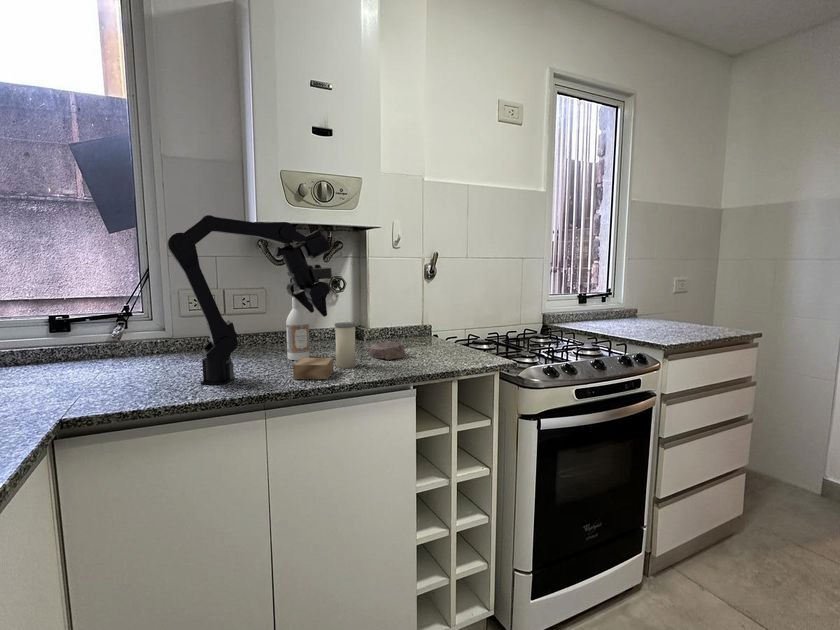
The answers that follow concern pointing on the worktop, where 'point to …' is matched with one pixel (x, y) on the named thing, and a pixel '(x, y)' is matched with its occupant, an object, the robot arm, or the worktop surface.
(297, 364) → the walnut box
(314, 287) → the robot arm
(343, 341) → the tea tin
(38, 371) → the worktop surface
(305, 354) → the bath foam
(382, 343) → the stone
